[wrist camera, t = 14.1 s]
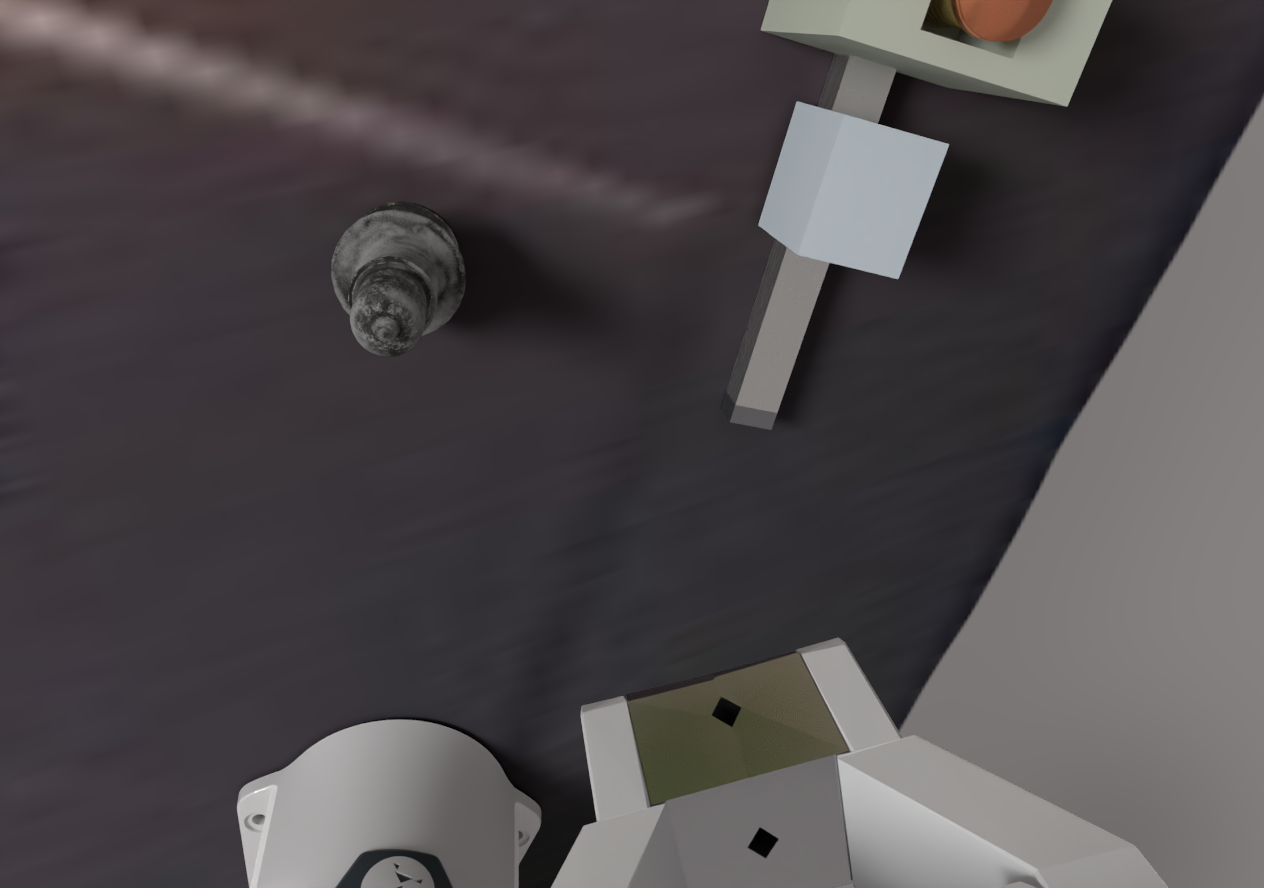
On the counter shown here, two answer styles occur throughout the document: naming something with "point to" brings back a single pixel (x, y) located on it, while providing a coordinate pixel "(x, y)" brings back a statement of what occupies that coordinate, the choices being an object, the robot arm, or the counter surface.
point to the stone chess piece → (398, 276)
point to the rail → (795, 271)
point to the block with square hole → (949, 44)
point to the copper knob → (987, 17)
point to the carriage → (850, 190)
